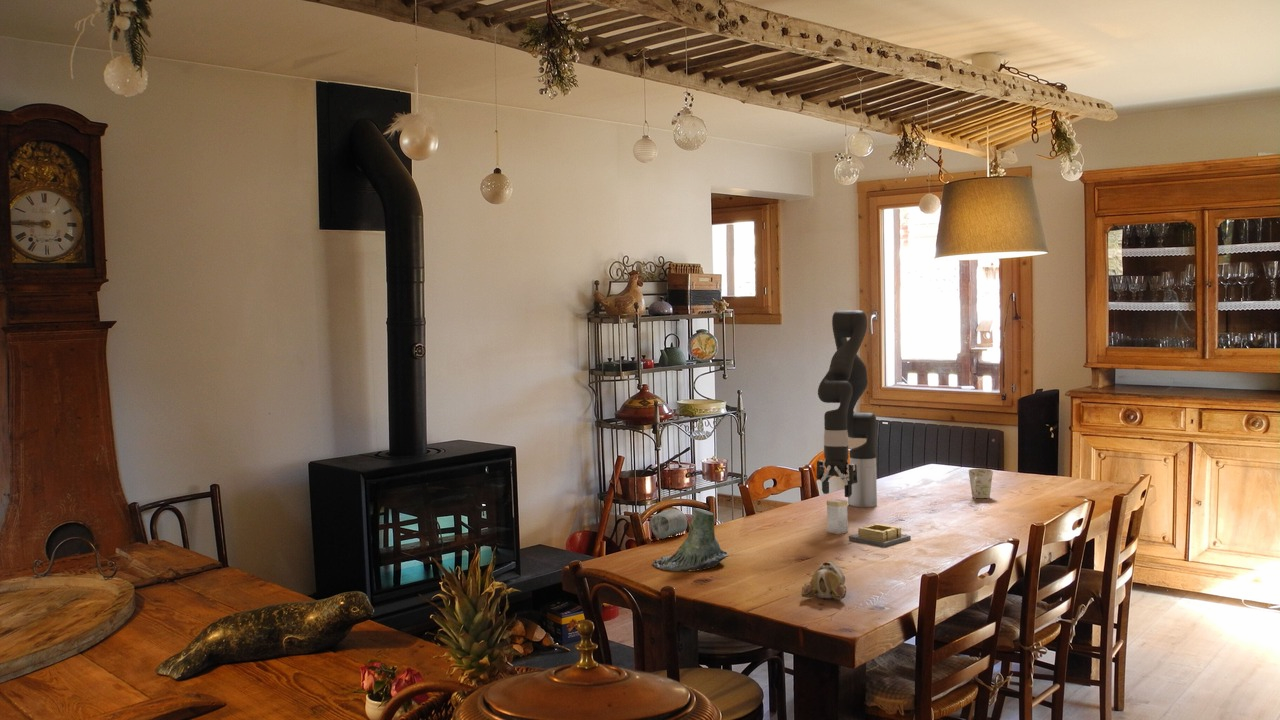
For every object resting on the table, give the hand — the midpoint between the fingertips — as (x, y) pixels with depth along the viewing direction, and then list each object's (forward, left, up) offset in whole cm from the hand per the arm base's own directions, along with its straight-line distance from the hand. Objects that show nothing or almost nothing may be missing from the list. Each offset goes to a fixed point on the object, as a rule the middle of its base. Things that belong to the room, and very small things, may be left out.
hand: (836, 495), depth 307 cm
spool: (-35, -40, -12) cm, 54 cm away
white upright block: (0, 0, -12) cm, 12 cm away
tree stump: (-5, -59, -12) cm, 60 cm away
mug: (+3, +78, -12) cm, 79 cm away
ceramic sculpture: (+42, -57, -12) cm, 72 cm away
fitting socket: (+16, 0, -12) cm, 20 cm away
